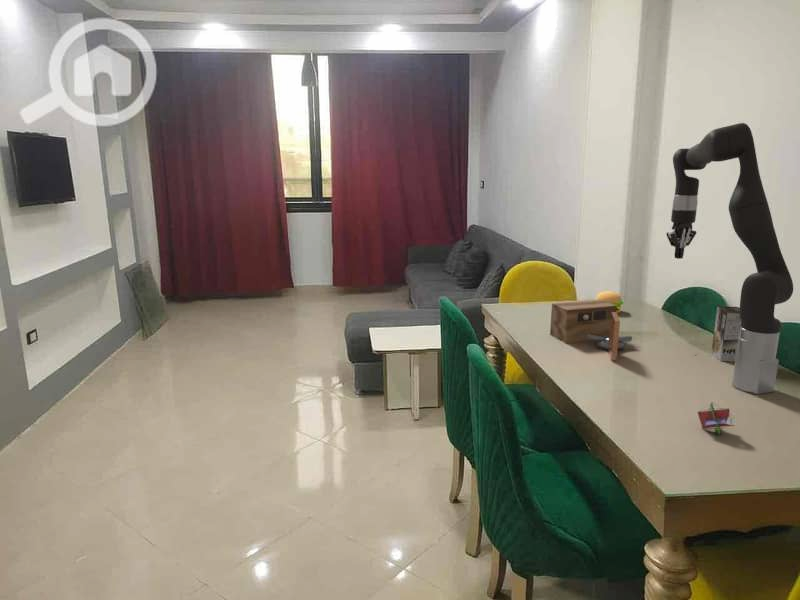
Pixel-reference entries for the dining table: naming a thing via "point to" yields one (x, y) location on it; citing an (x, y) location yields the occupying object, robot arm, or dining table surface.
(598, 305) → the wooden box
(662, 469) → the dining table surface
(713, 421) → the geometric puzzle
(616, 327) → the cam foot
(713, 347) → the coffee box
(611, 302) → the hamburger
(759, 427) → the dining table surface
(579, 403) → the dining table surface
